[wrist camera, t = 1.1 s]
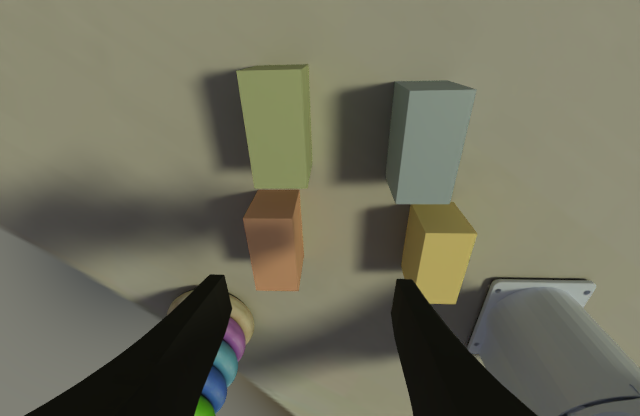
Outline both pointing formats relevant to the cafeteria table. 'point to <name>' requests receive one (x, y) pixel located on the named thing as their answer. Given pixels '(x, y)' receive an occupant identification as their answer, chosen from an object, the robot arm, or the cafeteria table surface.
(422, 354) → the robot arm
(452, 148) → the slate brick
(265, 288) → the terracotta brick
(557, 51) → the cafeteria table surface
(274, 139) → the olive brick
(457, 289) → the mustard brick
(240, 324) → the stacking toy
